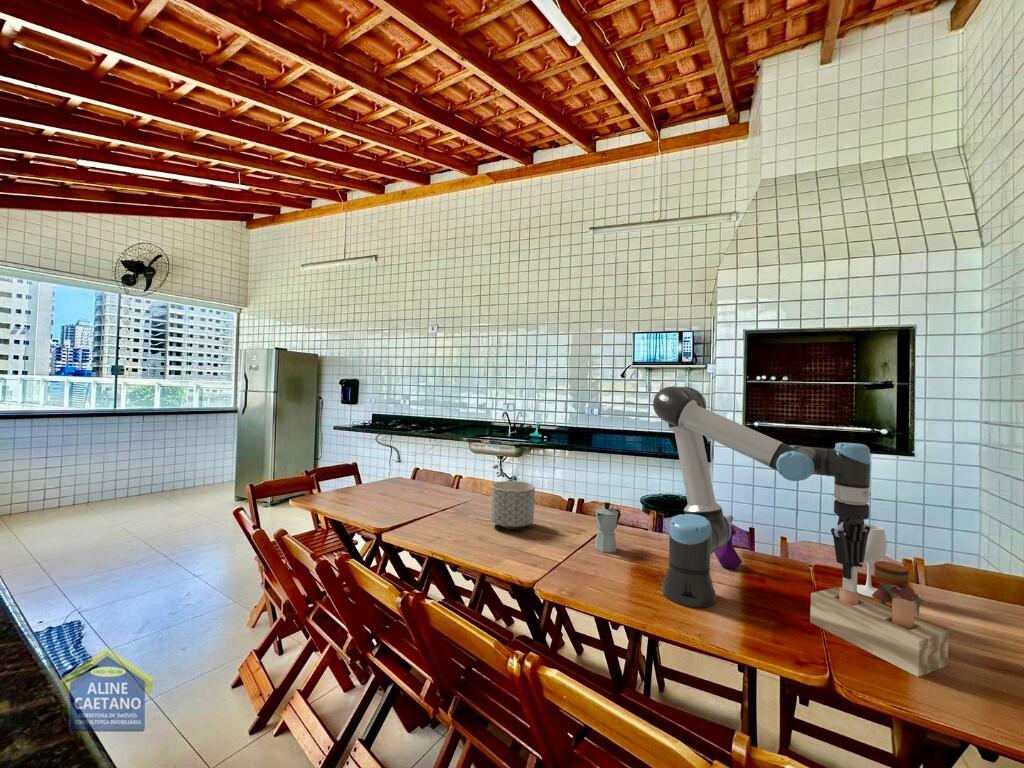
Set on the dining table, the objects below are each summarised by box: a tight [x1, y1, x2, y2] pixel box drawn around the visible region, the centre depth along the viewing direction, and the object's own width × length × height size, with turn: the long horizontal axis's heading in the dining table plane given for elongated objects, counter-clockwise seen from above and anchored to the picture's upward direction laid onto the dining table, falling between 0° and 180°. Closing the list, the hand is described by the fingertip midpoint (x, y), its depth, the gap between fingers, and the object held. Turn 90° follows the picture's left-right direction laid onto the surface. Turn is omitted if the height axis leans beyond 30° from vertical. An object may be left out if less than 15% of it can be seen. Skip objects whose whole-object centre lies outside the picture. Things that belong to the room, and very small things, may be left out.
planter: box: [490, 480, 536, 530], centre depth 194 cm, size 19×19×18 cm
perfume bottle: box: [713, 514, 743, 570], centre depth 157 cm, size 8×8×18 cm
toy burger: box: [872, 560, 925, 619], centre depth 123 cm, size 12×13×15 cm
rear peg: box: [839, 586, 859, 606], centre depth 117 cm, size 4×4×7 cm
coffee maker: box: [594, 501, 622, 554], centre depth 171 cm, size 15×9×18 cm, turn 131°
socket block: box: [809, 586, 949, 678], centre depth 111 cm, size 12×24×8 cm, turn 22°
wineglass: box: [857, 523, 888, 599], centre depth 140 cm, size 9×9×21 cm
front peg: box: [891, 598, 915, 630], centre depth 106 cm, size 4×4×7 cm
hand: (849, 589), depth 117 cm, fingers closed
